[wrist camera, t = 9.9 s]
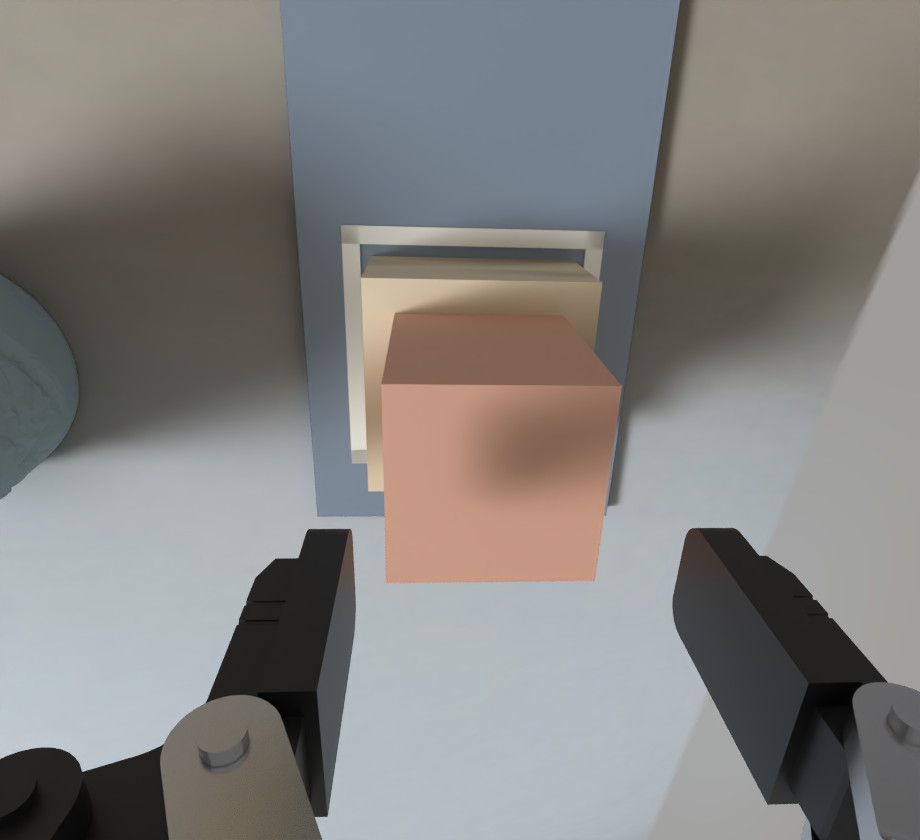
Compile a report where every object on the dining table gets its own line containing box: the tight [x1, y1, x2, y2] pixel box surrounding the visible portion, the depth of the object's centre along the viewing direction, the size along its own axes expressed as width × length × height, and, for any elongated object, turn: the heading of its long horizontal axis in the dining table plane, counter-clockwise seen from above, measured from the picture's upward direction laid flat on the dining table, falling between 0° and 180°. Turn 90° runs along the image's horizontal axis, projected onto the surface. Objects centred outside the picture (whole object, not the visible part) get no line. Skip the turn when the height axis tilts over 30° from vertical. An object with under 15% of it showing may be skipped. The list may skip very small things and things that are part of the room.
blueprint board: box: [280, 0, 680, 517], centre depth 21 cm, size 25×12×1 cm, turn 178°
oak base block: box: [361, 256, 602, 491], centre depth 21 cm, size 7×7×4 cm
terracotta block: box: [381, 313, 622, 583], centre depth 17 cm, size 5×5×6 cm
